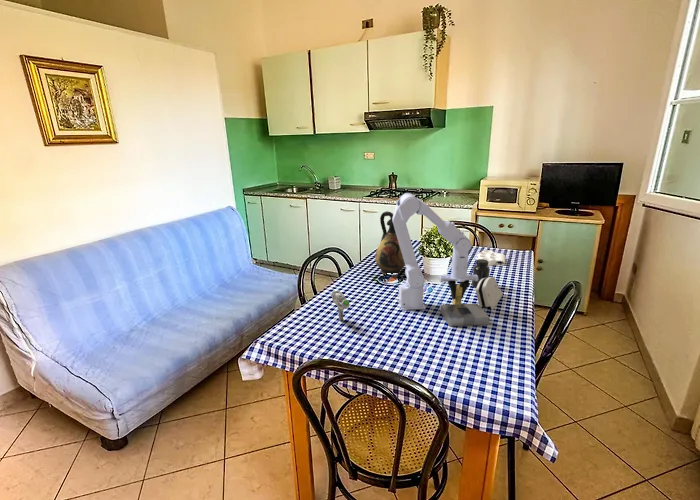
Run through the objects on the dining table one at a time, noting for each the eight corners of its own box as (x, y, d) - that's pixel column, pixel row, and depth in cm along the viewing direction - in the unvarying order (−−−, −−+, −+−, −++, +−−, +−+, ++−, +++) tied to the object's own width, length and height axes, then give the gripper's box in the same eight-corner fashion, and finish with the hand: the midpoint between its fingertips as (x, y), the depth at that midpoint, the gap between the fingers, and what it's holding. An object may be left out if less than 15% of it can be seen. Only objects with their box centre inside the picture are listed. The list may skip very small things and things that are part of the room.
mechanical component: (343, 327, 130) (343, 301, 127) (331, 315, 138) (330, 291, 135) (351, 325, 131) (350, 299, 128) (338, 313, 140) (337, 289, 136)
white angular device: (492, 310, 140) (485, 285, 139) (480, 311, 143) (473, 287, 142) (503, 294, 153) (497, 272, 152) (491, 295, 156) (485, 273, 155)
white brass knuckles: (504, 268, 182) (473, 265, 188) (505, 257, 198) (476, 255, 204) (505, 262, 181) (474, 259, 187) (505, 251, 197) (477, 249, 203)
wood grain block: (454, 306, 143) (456, 287, 141) (452, 303, 146) (453, 284, 144) (460, 306, 143) (462, 287, 141) (458, 302, 146) (459, 284, 144)
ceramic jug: (411, 270, 182) (413, 210, 173) (398, 280, 170) (400, 217, 161) (381, 264, 191) (382, 207, 182) (366, 273, 178) (366, 213, 169)
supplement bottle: (471, 288, 160) (473, 262, 156) (472, 282, 166) (474, 257, 162) (487, 290, 157) (490, 264, 154) (488, 284, 163) (491, 259, 160)
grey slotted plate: (449, 326, 129) (449, 318, 128) (440, 311, 139) (440, 304, 138) (488, 324, 129) (489, 317, 128) (476, 310, 140) (477, 303, 139)
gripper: (443, 269, 136) (441, 303, 140) (482, 268, 136) (479, 301, 140) (438, 263, 142) (436, 295, 147) (475, 262, 143) (472, 294, 147)
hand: (457, 297), depth 144 cm, fingers closed on wood grain block, 2 cm apart
